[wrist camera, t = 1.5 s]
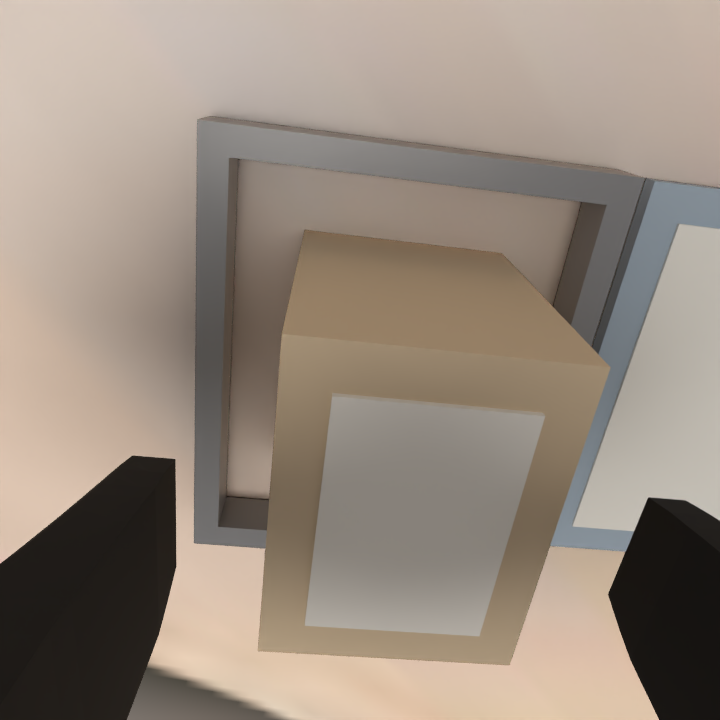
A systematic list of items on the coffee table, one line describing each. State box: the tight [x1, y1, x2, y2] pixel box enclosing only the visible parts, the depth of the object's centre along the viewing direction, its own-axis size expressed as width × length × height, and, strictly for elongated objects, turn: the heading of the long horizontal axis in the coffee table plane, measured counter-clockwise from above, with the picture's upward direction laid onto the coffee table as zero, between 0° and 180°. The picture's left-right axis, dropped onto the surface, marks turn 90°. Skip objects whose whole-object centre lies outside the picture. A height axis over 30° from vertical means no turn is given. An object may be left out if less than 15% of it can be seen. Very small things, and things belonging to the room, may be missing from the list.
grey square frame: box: [194, 116, 645, 548], centre depth 14 cm, size 9×10×1 cm
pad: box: [550, 178, 720, 552], centre depth 15 cm, size 6×10×1 cm, turn 173°
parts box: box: [258, 230, 611, 665], centre depth 12 cm, size 4×6×6 cm
